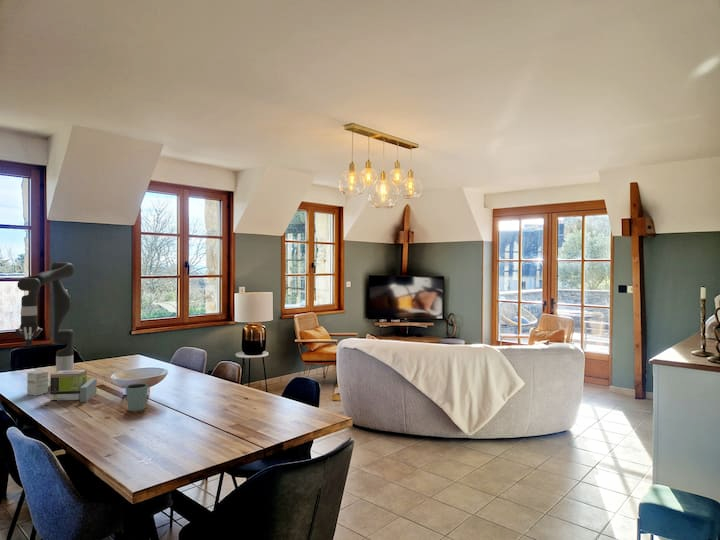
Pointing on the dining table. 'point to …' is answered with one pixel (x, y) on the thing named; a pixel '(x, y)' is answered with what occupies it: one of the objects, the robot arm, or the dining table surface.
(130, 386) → the grey green open cylinder
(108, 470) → the dining table surface
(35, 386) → the supplement box
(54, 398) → the tea box
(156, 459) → the dining table surface
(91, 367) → the dining table surface
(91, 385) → the stop board
